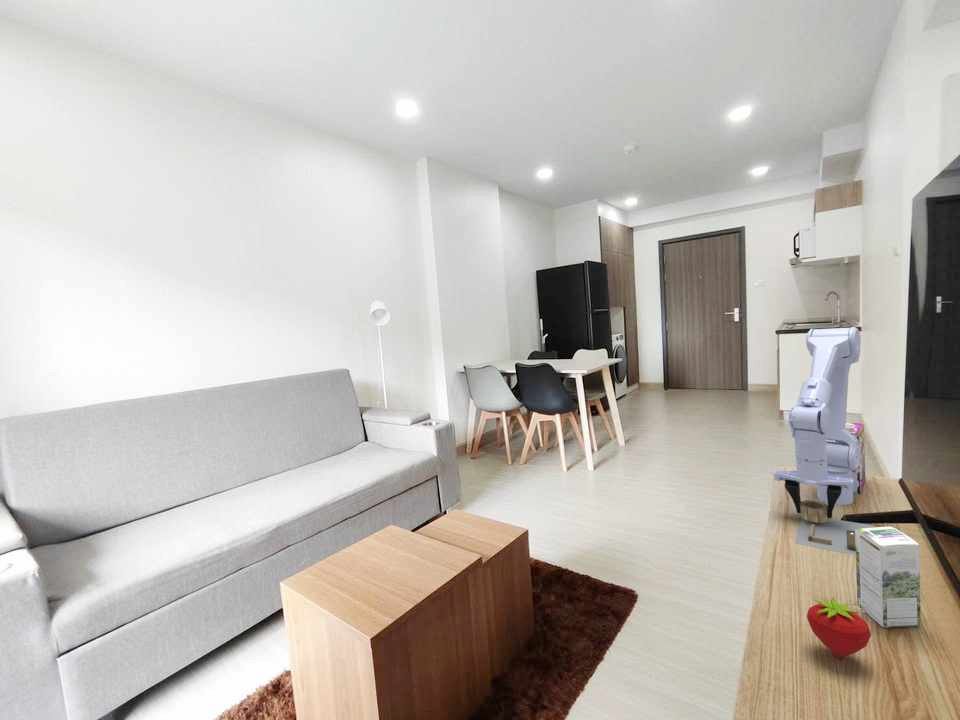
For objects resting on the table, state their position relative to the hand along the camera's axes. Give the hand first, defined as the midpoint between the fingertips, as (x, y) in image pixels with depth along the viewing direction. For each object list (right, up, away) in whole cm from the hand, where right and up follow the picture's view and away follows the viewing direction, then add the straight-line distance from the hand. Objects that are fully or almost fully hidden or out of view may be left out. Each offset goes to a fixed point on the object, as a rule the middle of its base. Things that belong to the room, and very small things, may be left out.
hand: (814, 513), depth 103 cm
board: (0, -3, -6) cm, 7 cm away
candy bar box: (+22, +2, +16) cm, 27 cm away
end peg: (-1, -3, -12) cm, 12 cm away
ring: (0, -1, 0) cm, 1 cm away
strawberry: (-23, -10, -36) cm, 44 cm away
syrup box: (-10, -7, -29) cm, 32 cm away
